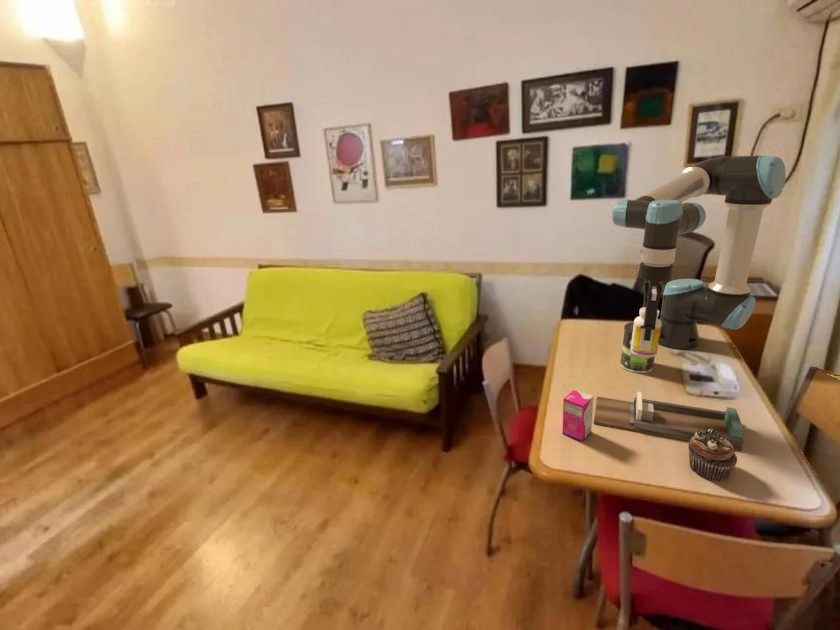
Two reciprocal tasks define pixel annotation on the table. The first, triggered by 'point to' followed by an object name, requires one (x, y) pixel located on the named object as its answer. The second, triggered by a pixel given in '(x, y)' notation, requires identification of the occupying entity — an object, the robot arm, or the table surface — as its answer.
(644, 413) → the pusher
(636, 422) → the dispenser stand
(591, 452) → the table surface
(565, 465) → the table surface
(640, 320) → the supplement bottle
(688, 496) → the table surface
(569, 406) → the supplement box
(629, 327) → the coffee can
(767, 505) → the table surface
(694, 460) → the cupcake
